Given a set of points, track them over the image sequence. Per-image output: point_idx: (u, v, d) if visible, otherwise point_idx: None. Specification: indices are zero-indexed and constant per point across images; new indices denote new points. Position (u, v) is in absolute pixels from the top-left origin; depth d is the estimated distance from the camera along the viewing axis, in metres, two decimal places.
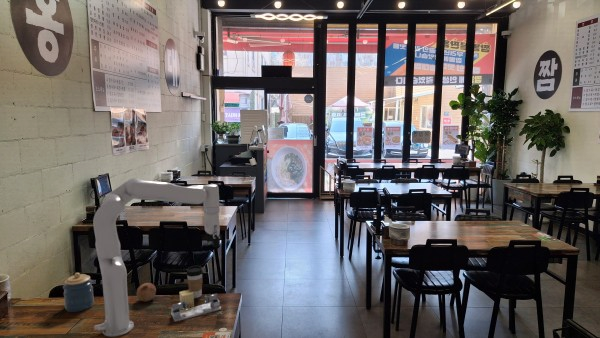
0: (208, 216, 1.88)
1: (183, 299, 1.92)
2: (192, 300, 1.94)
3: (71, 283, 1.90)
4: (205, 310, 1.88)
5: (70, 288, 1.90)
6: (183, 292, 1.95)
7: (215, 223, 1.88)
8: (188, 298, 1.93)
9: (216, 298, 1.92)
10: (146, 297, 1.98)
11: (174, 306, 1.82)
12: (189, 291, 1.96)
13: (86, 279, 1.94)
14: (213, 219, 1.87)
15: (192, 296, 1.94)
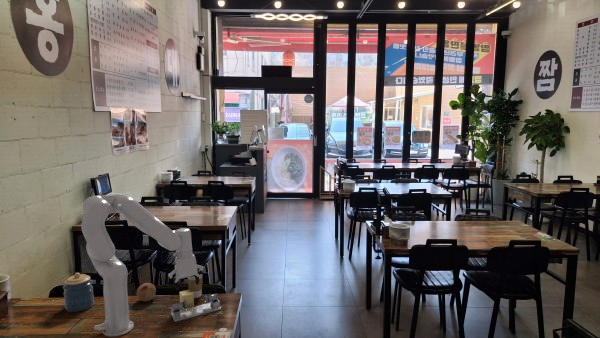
0: (190, 258, 1.92)
1: (183, 299, 1.92)
2: (192, 300, 1.94)
3: (71, 283, 1.90)
4: (205, 310, 1.88)
5: (70, 288, 1.90)
6: (183, 292, 1.95)
7: None
8: (188, 298, 1.93)
9: (216, 298, 1.92)
10: (146, 297, 1.98)
11: (174, 306, 1.82)
12: (189, 291, 1.96)
13: (86, 279, 1.94)
14: None
15: (192, 296, 1.94)
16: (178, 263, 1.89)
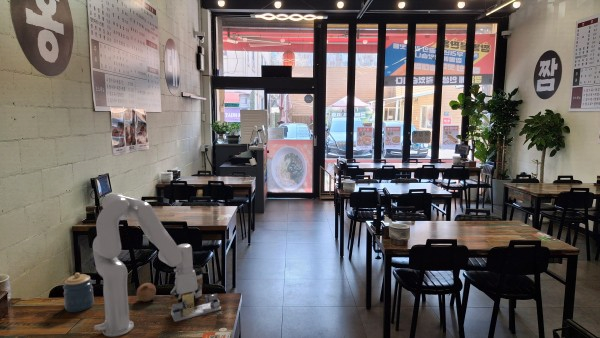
0: (191, 274, 1.93)
1: (183, 299, 1.92)
2: (192, 300, 1.94)
3: (71, 283, 1.90)
4: (205, 310, 1.88)
5: (70, 288, 1.90)
6: None
7: None
8: (188, 298, 1.93)
9: (216, 298, 1.92)
10: (146, 297, 1.98)
11: (174, 306, 1.82)
12: None
13: (86, 279, 1.94)
14: None
15: (192, 296, 1.94)
16: (178, 279, 1.90)
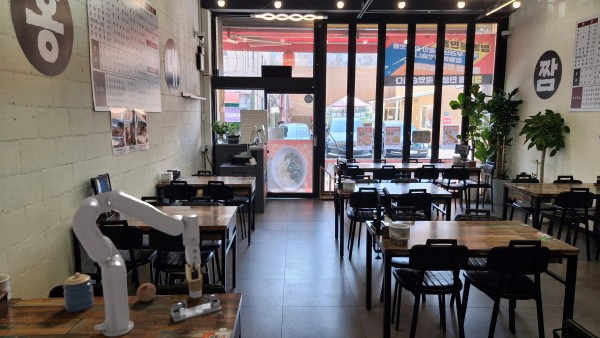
0: None
1: None
2: None
3: (71, 283, 1.90)
4: (205, 310, 1.88)
5: (70, 288, 1.90)
6: (190, 266, 1.85)
7: None
8: None
9: (216, 298, 1.92)
10: (146, 297, 1.98)
11: (174, 306, 1.82)
12: None
13: (86, 279, 1.94)
14: None
15: None
16: None
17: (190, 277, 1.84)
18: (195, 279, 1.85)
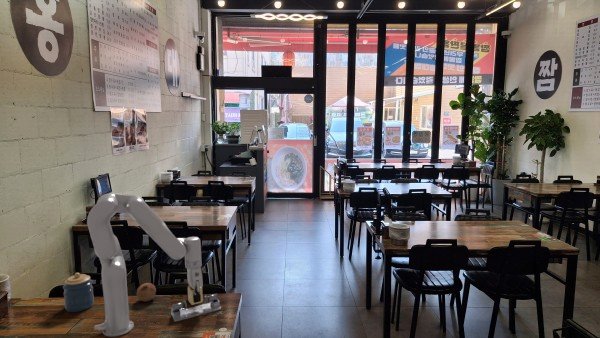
0: None
1: None
2: None
3: (71, 283, 1.90)
4: (205, 310, 1.88)
5: (70, 288, 1.90)
6: (192, 289, 1.86)
7: None
8: None
9: (216, 298, 1.92)
10: (146, 297, 1.98)
11: (174, 306, 1.82)
12: None
13: (86, 279, 1.94)
14: None
15: None
16: None
17: (192, 300, 1.85)
18: (197, 302, 1.86)
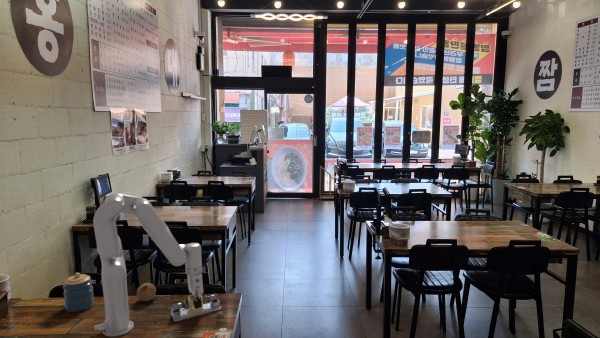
0: None
1: None
2: None
3: (71, 283, 1.90)
4: (205, 310, 1.88)
5: (70, 288, 1.90)
6: (192, 297, 1.86)
7: None
8: None
9: (216, 298, 1.92)
10: (146, 297, 1.98)
11: (174, 306, 1.82)
12: (193, 295, 1.89)
13: (86, 279, 1.94)
14: None
15: None
16: (201, 277, 1.85)
17: (192, 309, 1.85)
18: (197, 311, 1.86)
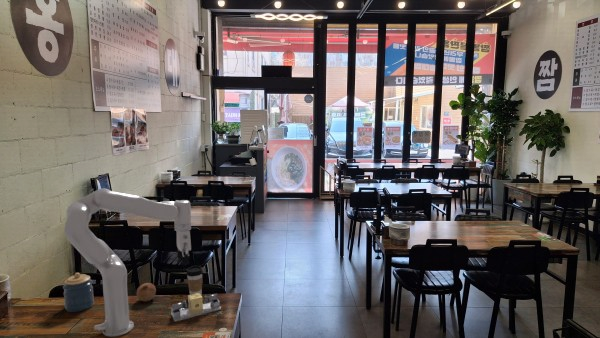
0: None
1: None
2: None
3: (71, 283, 1.90)
4: (205, 310, 1.88)
5: (70, 288, 1.90)
6: (192, 297, 1.86)
7: None
8: None
9: (216, 298, 1.92)
10: (146, 297, 1.98)
11: (174, 306, 1.82)
12: (193, 295, 1.89)
13: (86, 279, 1.94)
14: None
15: None
16: None
17: (192, 309, 1.85)
18: (197, 311, 1.86)
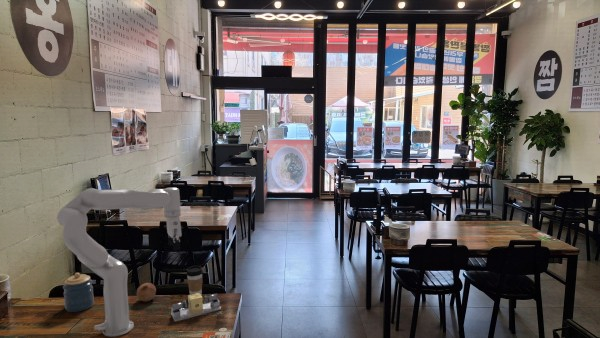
0: None
1: None
2: None
3: (71, 283, 1.90)
4: (205, 310, 1.88)
5: (70, 288, 1.90)
6: (192, 297, 1.86)
7: None
8: None
9: (216, 298, 1.92)
10: (146, 297, 1.98)
11: (174, 306, 1.82)
12: (193, 295, 1.89)
13: (86, 279, 1.94)
14: None
15: None
16: (179, 220, 1.88)
17: (192, 309, 1.85)
18: (197, 311, 1.86)
